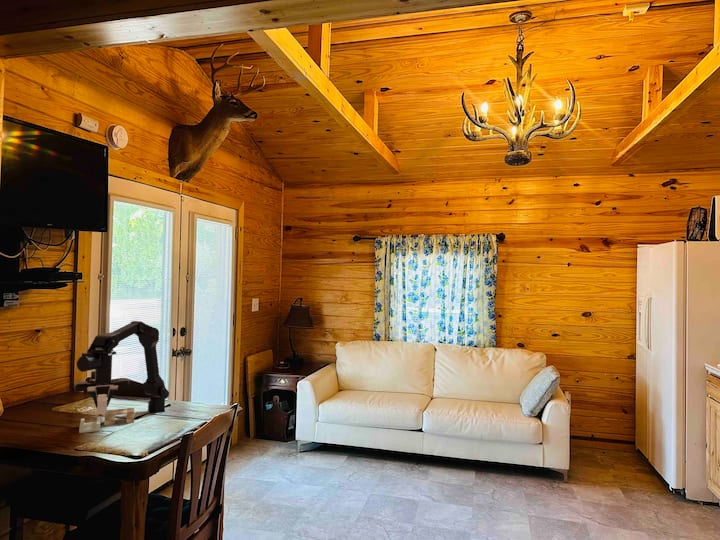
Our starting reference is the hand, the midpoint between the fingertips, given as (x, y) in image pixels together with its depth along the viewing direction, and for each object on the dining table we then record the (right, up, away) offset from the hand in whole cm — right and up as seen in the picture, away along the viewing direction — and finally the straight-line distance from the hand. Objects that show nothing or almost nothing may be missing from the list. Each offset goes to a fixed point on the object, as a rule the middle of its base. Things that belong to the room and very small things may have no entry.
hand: (102, 407), depth 186 cm
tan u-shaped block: (0, -10, +14) cm, 17 cm away
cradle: (-7, -10, +5) cm, 13 cm away
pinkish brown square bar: (-2, -1, +4) cm, 5 cm away
